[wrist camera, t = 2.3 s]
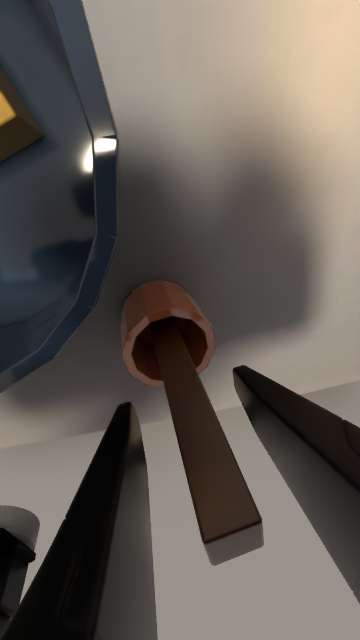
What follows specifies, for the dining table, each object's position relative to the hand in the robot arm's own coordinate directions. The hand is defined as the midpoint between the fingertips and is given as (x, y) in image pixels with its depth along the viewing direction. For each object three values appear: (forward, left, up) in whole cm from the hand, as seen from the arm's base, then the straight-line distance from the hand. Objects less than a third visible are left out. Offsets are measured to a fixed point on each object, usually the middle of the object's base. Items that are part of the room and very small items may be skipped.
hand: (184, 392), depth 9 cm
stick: (0, 0, -6) cm, 6 cm away
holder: (0, 0, -6) cm, 6 cm away
